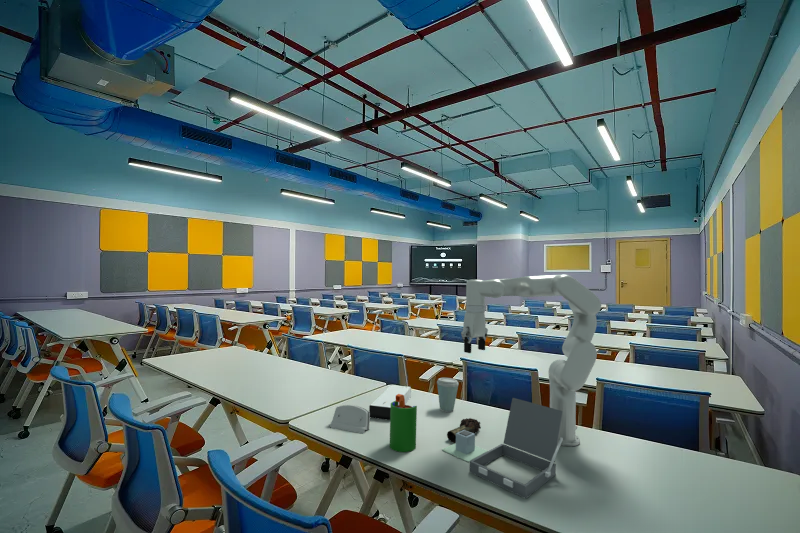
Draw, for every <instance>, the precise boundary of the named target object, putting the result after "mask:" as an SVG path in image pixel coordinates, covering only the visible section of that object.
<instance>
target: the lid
mask: <svg viewBox="0 0 800 533" xmlns="http://www.w3.org/2000/svg"><path fill="white" fill-rule="evenodd" d="M562 414H563V411H560V410H556V409H553V408H550V406H549V407H548V406H545V405H540V404H538V403H534V402H530V401H526V400H524V399H520V398H516V397H512V398H511V403H510V409H509V412H508V417H507V418H508V419H507V422H506V424H507V425H506V429H505V433H504V439H503V444H504V445H507V446H509V447H512V448H515V449H517V450H520V451H523V452H525V453H528V454H531V455H533V456H536V457H538V458H541V459H544V460H546V461H549V462H551V460H552V458H553V455H554V453H555V450H556V448H557V445H558V439H559V433H560V427H561V420H562ZM555 462H556V459H555V460H554V464H556V463H555Z"/></svg>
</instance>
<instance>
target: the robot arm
mask: <svg viewBox="0 0 800 533" xmlns="http://www.w3.org/2000/svg"><path fill="white" fill-rule="evenodd" d="M465 288H466V289H465V290H466V291H465V292H466V294H465V296H466V297H465V300H466V302H465V304H466V305H465V313H464V317H463V326H462V331H461V332H460V335H461V338H462V340H463V341H462V342H463V352H464V353H467V354H472V343H471V342H472V341H473V339H476V338H478V339H477V349H478V350H480V351H485V350H486V340H487V337H488V331H489V329H488V328H487V327H486V326H487V325H486V315H485V312H486V310H485V309H486V308H485V304H486V303H485V302H486V301H485V300H486V298H492V299H498V298H501V297H522V298H534V297H535V298H538V297H556V296H557V297H558V296H561V297H563V298H564V299H565V300H566V301H568V302H567V303H568V307H569V308H570V310H571V312H572V316H573V322H572V325H571V327H570V330H569V331H568V334H567V335H566V338H565V340H564V341H563V343H562V347H561V350H562V353H563V355H564V356H565V357H567V358H566V359H565V360H564V359H556V360H554V361H553V362H551V363H550V365H549V367H548V380H549V408H553V409H556V410H560V411H563V414H562V420H561V427H560V433H559V439H558V443H559V440H560V438H563V440H562V442H561V445H560V446H564V447H575V446H578V445H580V443H581V440H580V438H579V436H577V435H576V431H577V429H578V426H577V425H576V423H577V422H576V415H577V414H576V413H577V412H576V411H577V407H576V406H577V405H576V402H577V401H576V400H577V396H576V391H579V390H580V389H581V388H583V387H584V386H585V384H586V381H587V380H588V378H589V375H590V373H591V371H592V370H593V367H594V366H595V363H596V362H597V361H596V360H597V355H598V352H597V349H596V348H597V347H596V346H595V345H594V344H593V343H592V340H593V337H594V335H595V333H596V330H597V326H598V325H597V324H598V323H597V322H598V321H597V315H596V314H598V313H599V312H600V311H601V308H602V302H601V300H600V298H599V297H598V296H597V294H595V293H594V292H593V291H592V290H590V289H589V288H588V287H586V286H585V285H584V284H582V283H581V282H580V281H579V280H578V279H576V278H574V277H573V276H572V275H570V274H551V275H533V276H532V275H530V276H522V277H514V278H494V279H492V278H491V279H488V280H482V279H468V280H467V281H466V286H465ZM485 297H486V298H485Z"/></svg>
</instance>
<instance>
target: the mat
mask: <svg viewBox="0 0 800 533" xmlns="http://www.w3.org/2000/svg"><path fill="white" fill-rule="evenodd" d="M441 451H443V452H444V453H447V454H449V455H451V456H454V457H455V458H458V459H460V460H462V461H465V463H469V464H470V461H471V460H473V459H475V458H476V457H478V456H480V455H482V454H484V453H486V452H487V451H488V449H485V448H482V447H480V446H478V445H475V450H474V451H473V452H471V453H469V454H464V453H462V452H460V451H457V450H456V442H455V443H453V444H450V445H448V446H447V447H444V448H442V449H441Z"/></svg>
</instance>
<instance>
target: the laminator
mask: <svg viewBox="0 0 800 533" xmlns="http://www.w3.org/2000/svg"><path fill="white" fill-rule="evenodd" d="M411 392H412V388H411V386H406V385H405V386H404V385H393V384H391V385H390V386H388V387H387V389H385V390H384V391H383V392H382V393H381V394H380V395H379V396H378V397H377V398H376V399H375V400H374V401H373V402H372V403H370V405H369V406H368V407H369V408H368V409H369V410H368V411H369V413H370V417H371V419H377V418H379V419H378V420H385V419H387V421H390V411H391V403H392V402H394V401H396V395H398V394H401V395H404V399H405V405H407V403H408V402H409V401H408V400H410V399H411V395H412V394H411ZM409 398H410V399H409ZM407 401H408V402H407ZM398 405H399V402H398Z"/></svg>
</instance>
